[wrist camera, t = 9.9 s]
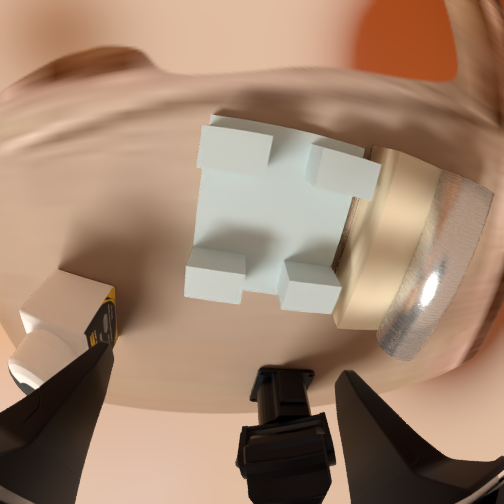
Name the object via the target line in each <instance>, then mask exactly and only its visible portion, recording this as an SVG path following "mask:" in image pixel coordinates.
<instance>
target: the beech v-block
mask: <svg viewBox="0 0 504 504" xmlns="http://www.w3.org/2000/svg"><path fill="white" fill-rule="evenodd" d="M370 161H373V162H376V163H378V164H381V169H380V172H379V176H378V180H377V184H376V187H375V191H374V194H373V198H372V201H368V200H364V199H359V202H358V205H357V209H356V212H355V216H354V219H353V222H352V225H351V229H350V232H349V235H348V238H347V241H346V244H345V247H344V250H343V253H342V256H341V259H340V262H339V265H338V268H337V270H336V273H335V275H336V277H337V279H338V281H339V282H340V284H341V286H342V289H341V291H340V294H339V296H338V299H337V301H336V304H335V306H334V308H333V311H332V313H331V314H332V316H333V318H334V321H335V323H336V326H337V328H338V329H356V330H378V329H379V327H380V325H381V323H382V322H383V320H384V318H385V316H386V314H387V312H388V310H389V308H390V306H391V304H392V302H393V300H394V298H395V296H396V294H397V292H398V290H399V287H400V285H401V283H402V281H403V279H404V276H405V274H406V272H407V270H408V267H409V265H410V263H411V260H412V258H413V255H414V253H415V250H416V248H417V245H418V243H419V240H420V237H421V235H422V232H423V229H424V226H425V223H426V221H427V218H428V215H429V212H430V209H431V205H432V202H433V199H434V196H435V192H436V189H437V185H438V182H439V178H440V174H441V170H442V169H440V168H438V167H435V166H433V165H431V164H429V163H427V162H424V161H422V160H420V159H418V158H415V157H413V156H410V155H408V154H406V153H403V152H401V151H397V150H393V149H389V148H384V147H380V146H376V145H373V148H372V153H371V157H370Z"/></svg>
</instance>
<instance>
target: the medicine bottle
mask: <svg viewBox="0 0 504 504" xmlns="http://www.w3.org/2000/svg"><path fill="white" fill-rule="evenodd" d="M20 314H21V318H22V321H23V324H24V327H25V330H26V333H27V335H26V336H25V338H24V339H23V340H22V342H21V343H20V345H19V346H18V348H17V349H16V351H15V352H14V353H13V355H12V356H11V358H10V359H9V361H8V368H9V372H10V374H11V376H12V378H13V379H14V381H15V383H16V384H17V386H18V387H19V388H20V389H21V390H22V391H23V392H24V393H25V394H26V395H29V394H30V393H31V392H33V391H34V390H35V389H37V388H39V386H41V385H42V384H43V383H45V382H46V381H47V380H48V379H50V378H51V377H52V376H54V375H55V374H56V373H58V372H59V371H60V370H62V369H63V368H64V367H66V366H67V365H68V364H70V363H71V362H72V361H74V360H75V359H76V358H77V357H79V356H80V355H81V354H83V353H84V352H85V351H87V350H88V349H90V348H91V347H92V346H94V345H95V344H96V343H98V342H99V341H105V342H109V343H110V344H111V347H112V350H113V347H114V345H115V343H116V341H117V339H118V334H117V321H116V304H115V288H114V287H113V286H111V285H108V284H104V283H101V282H97V281H94V280H91V279H87V278H84V277H81V276H77V275H74V274H71V273H68V272H65V271H62V270H59V269H57V270H55V271H54V272H53V273H52V274H51V275H50V276H49V277H48V278H47V279H46V281H45V282H44V283H43V284H42V285H41V286H40V287H39V288H38V289H37V290H36V291H35V292H34V293H33V294H32V295H31V297H30V298H29V299H28V300H27V301H26V302H25V303H24V304H23V306H22V307H21V308H20Z"/></svg>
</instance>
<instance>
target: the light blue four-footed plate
mask: <svg viewBox="0 0 504 504" xmlns="http://www.w3.org/2000/svg"><path fill="white" fill-rule="evenodd" d="M364 151H365V148H362V147H359V146H356V145H352V144H349V143H346V142H342V141H339V140H335V139H332V138H328V137H325V136H321V135H317V134H313V133H309V132H305V131H301V130H296V129H292V128H287V127H283V126H278V125H273V124H268V123H262V122H257V121H251V120H245V119H239V118H232V117H225V116H217V115H211V117H210V123H209V125H202V131H201V138H200V144H199V151H198V158H197V165H196V167H198V168H202V175H201V182H200V190H199V198H198V206H197V215H196V224H195V233H194V243H193V249H192V251H191V254H190V256H189V259H188V262H187V265H186V273H185V289H184V297H191V298H197V299H204V300H210V301H217V302H224V303H232V304H239V305H240V302H241V297H242V292H243V290H245V291H252V292H260V293H268V294H276V295H278V296H279V302H280V307H281V310H291V311H301V312H312V313H323V314H331V313H332V311H333V308H334V306H335V304H336V301H337V299H338V296H339V294H340V291H341V289H342V286H341V284H340V282H339V281H338V279H337V277H336V275H335V273H334V272H333V270H332V268H331V265H332V262H333V259H334V256H335V253H336V250H337V247H338V244H339V241H340V238H341V234H342V231H343V228H344V225H345V221H346V218H347V215H348V211H349V208H350V204H351V201H352V197H357V198H360V199H364V200H368V201H372V198H373V194H374V191H375V187H376V184H377V180H378V176H379V172H380V169H381V164H378V163H376V162H373V161H370V160H367V159H364V158H363V155H364Z"/></svg>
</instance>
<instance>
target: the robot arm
mask: <svg viewBox="0 0 504 504" xmlns="http://www.w3.org/2000/svg"><path fill="white" fill-rule="evenodd" d="M113 363H114V355H113V351H112V347H111V344H110V343H109V342H105V341H99V342H98V343H96V344H95V345H94V346H92V347H91V348H90V349H88V350H87V351H85V352H84V353H83V354H81V355H80V356H79V357H77V358H76V359H75V360H74V361H72V362H71V363H70V364H68V365H67V366H66V367H64V368H63V369H62V370H60V371H59V372H58V373H56V374H55V375H54V376H52V377H51V378H50V379H48V380H47V381H46V382H45V383H43V384H42V385H41V386H39V388H37V389H35V390H34V391H33V392H31V393H30V394H29V395H27V396H26V397H25V398H23V399H22V400H20V401H18V402H17V403H15V404H14V405H12V406H10V407H9V408H7V409H6V410H4V411H2V412H0V504H75V500H76V496H77V491H78V487H79V483H80V478H81V474H82V470H83V466H84V463H85V459H86V456H87V452H88V449H89V445H90V441H91V438H92V435H93V432H94V429H95V426H96V423H97V419H98V416H99V413H100V410H101V408H102V405H103V402H104V399H105V396H106V392H107V388H108V384H109V379H110V375H111V371H112V367H113ZM314 376H315V373H314V371H312V370H286V369H269V368H261V369H259V370H258V373H257V376H256V379H255V382H254V385H253V388H252V391H251V394H250V401H252V402H258V420H259V425H257V426H249V427H248V426H243V427H242V432H241V434H240V440H239V448H238V455H237V459H236V466H237V467H238V468H239V469H240V472H241V475H242V477H243V478H244V479H247V485H248V495H249V498H250V500H251V501H252V502H253V504H322V501H323V500H324V498H325V496H326V494H327V491H328V490H329V488H330V485H331V483H332V480H331V474H330V469H329V467H330V466H334V465H336V458H335V451H334V446H333V442H332V438H331V434H330V430H329V427H328V423H327V419H326V415H325V412H322V413H320V414H317V415H313V416H312V415H311V410H310V405H309V401H308V396H307V391H306V390H307V389H308V387H309V385H310V383H311V382H312V380H313V378H314ZM335 396H336V409H337V420H338V425H339V431H340V436H341V442H342V447H343V453H344V458H345V465H346V472H347V478H348V484H349V491H350V498H351V504H504V475H503V476H502V477H500V478H498V474H499V473H500V472H502V471H503V470H504V456H500V457H499V458H498V459H496V460H495V461H490V462H482V461H466V460H456V459H451V458H449V457H447V456H445V455H444V454H442V453H441V452H440V451H438V450H437V449H436V448H434V447H433V446H432V445H431V444H429V443H428V442H427V441H426V440H424V439H423V438H422V437H421V436H420V435H418V434H417V433H416V432H415V431H414V430H413V429H412V428H411V427H410V426H409V425H408V424H406V422H405V421H404V420H403V419H402V418H401V417H399V415H398V414H397V413H396V412H395V411H393V409H392V408H391V407H390V406H389V405H388V404H387V403H386V402H384V400H383V399H382V398H381V397H380V396H379V395H378V394H377V393H376V392H375V391H374V390H373V389H372V388H371V387H370V386H369V385H368V384H366V383H365V381H364V380H363V379H362V378H361V377H360V376H359V375H358V374H357V373H356V372H354V371H353V370H344V371H342V373H341V374H340V376H339V378H338V379H337V381H336V383H335Z"/></svg>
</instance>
